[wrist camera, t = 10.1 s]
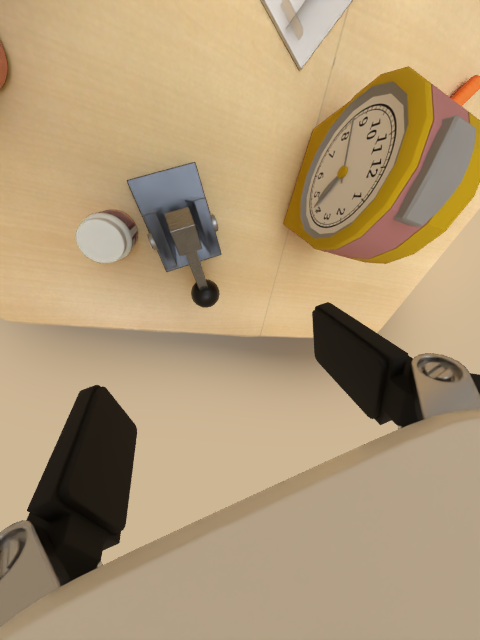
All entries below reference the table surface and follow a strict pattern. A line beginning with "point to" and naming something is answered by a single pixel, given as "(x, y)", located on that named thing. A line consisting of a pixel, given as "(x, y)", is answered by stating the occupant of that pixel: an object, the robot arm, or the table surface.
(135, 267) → the table surface
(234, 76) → the table surface
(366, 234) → the alarm clock
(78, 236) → the pill bottle
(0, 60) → the beverage can
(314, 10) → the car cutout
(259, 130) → the table surface
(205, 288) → the switch lever
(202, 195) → the switch bracket
